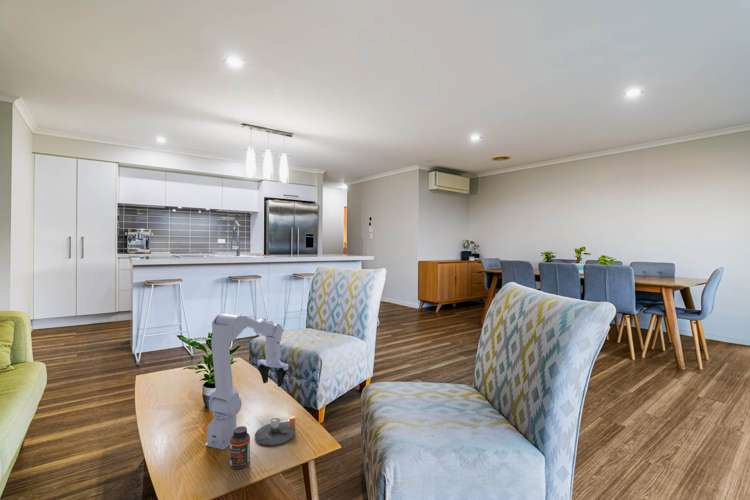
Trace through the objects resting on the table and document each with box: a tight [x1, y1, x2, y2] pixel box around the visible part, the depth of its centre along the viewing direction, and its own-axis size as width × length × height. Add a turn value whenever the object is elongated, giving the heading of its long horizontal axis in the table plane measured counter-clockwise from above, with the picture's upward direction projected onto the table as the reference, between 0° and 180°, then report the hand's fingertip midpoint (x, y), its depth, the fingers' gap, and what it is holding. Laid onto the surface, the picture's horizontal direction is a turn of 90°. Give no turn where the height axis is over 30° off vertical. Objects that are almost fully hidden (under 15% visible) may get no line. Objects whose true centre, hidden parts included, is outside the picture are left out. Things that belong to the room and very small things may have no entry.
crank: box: [270, 415, 296, 434], centre depth 130 cm, size 9×3×5 cm, turn 102°
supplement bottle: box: [229, 425, 251, 470], centre depth 112 cm, size 6×6×11 cm
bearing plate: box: [254, 423, 296, 447], centre depth 129 cm, size 14×14×1 cm
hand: (272, 384), depth 150 cm, fingers open, 7 cm apart
